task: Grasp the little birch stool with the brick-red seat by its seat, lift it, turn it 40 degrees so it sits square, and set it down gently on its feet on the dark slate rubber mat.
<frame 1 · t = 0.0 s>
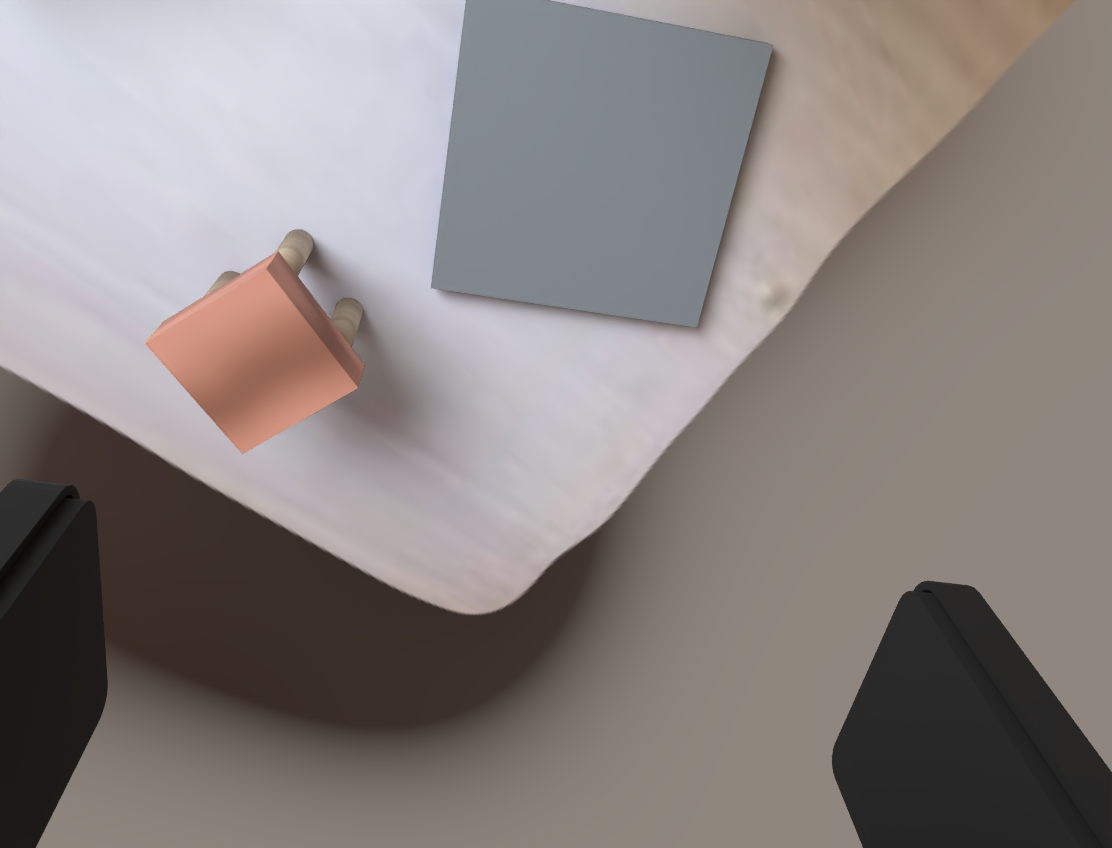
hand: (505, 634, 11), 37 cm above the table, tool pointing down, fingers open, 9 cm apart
slate mat: (591, 168, 44), on the table
stool: (291, 297, 47), on the table
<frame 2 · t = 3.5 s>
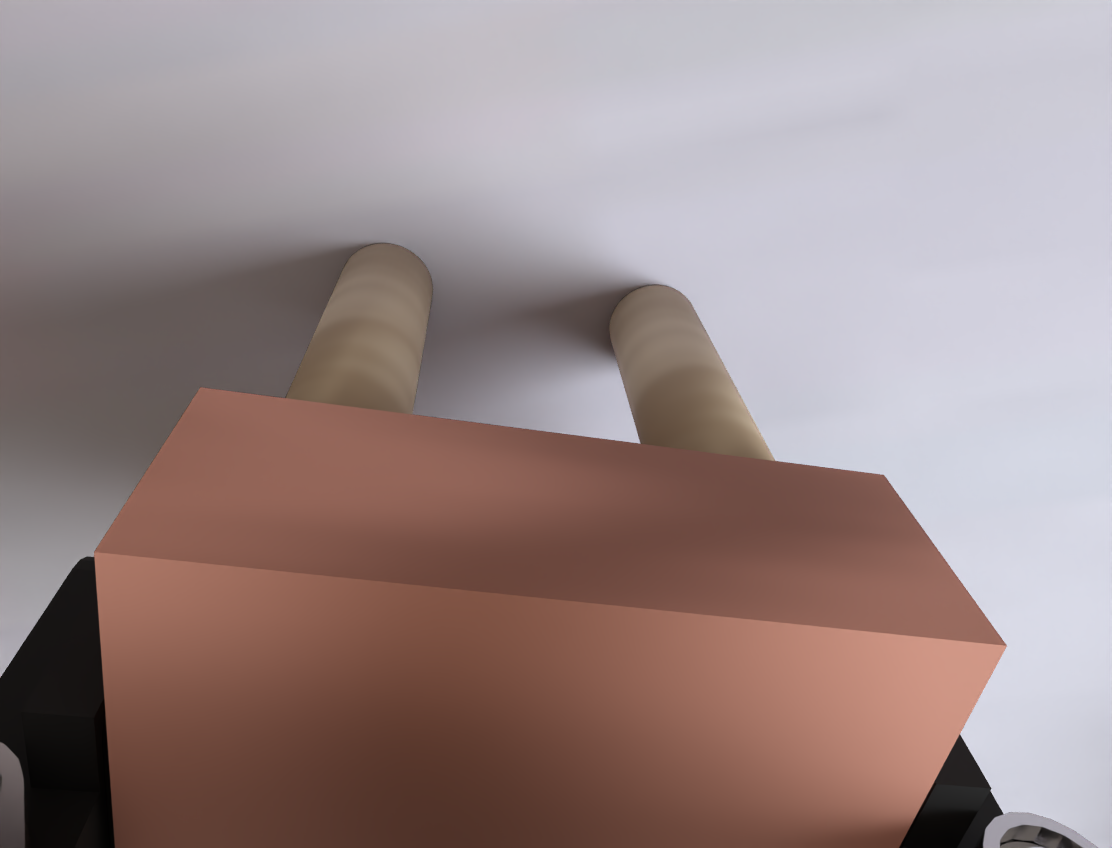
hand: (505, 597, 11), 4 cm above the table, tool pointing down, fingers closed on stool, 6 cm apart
stool: (502, 425, 15), on the table, touching gripper
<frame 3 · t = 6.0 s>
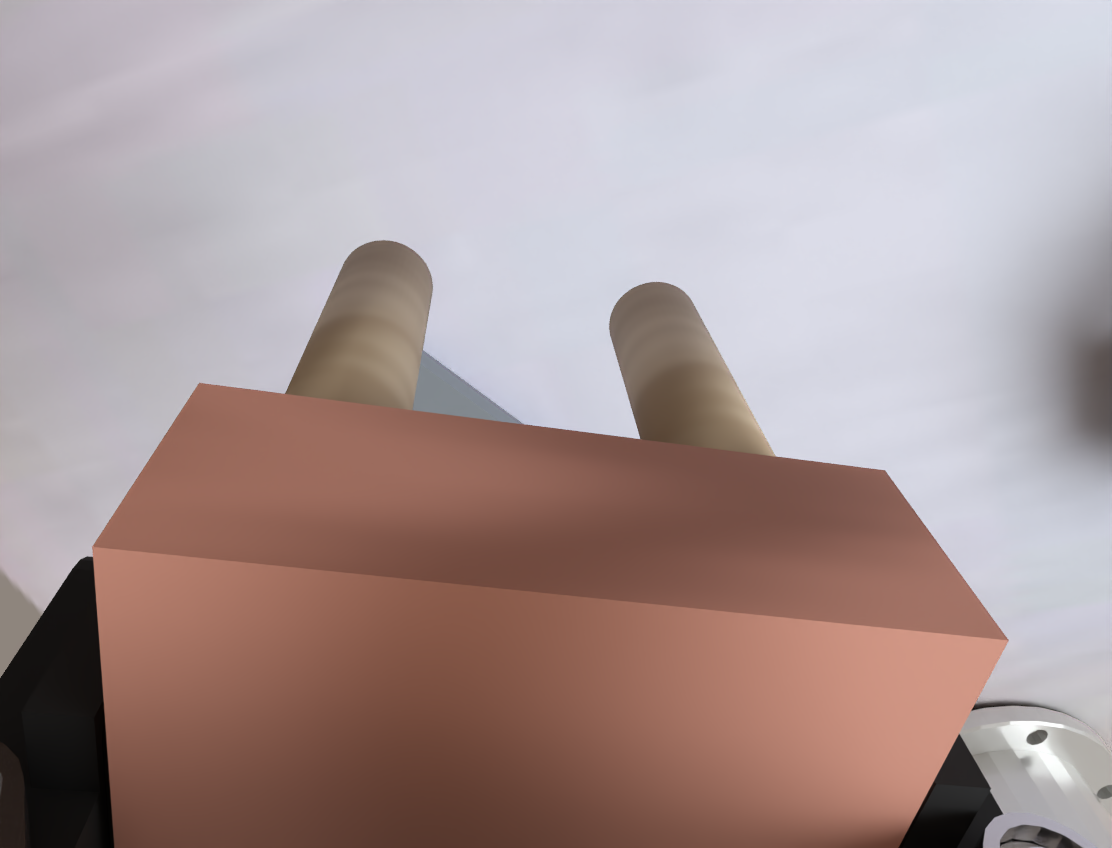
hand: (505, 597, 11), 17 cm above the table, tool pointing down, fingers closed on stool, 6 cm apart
slate mat: (440, 586, 33), on the table
stool: (502, 422, 15), point 13 cm above the table, touching gripper
when the fingers open (6 cm above the table, at t = 8.8 s): stool stays where it is, resting on slate mat.
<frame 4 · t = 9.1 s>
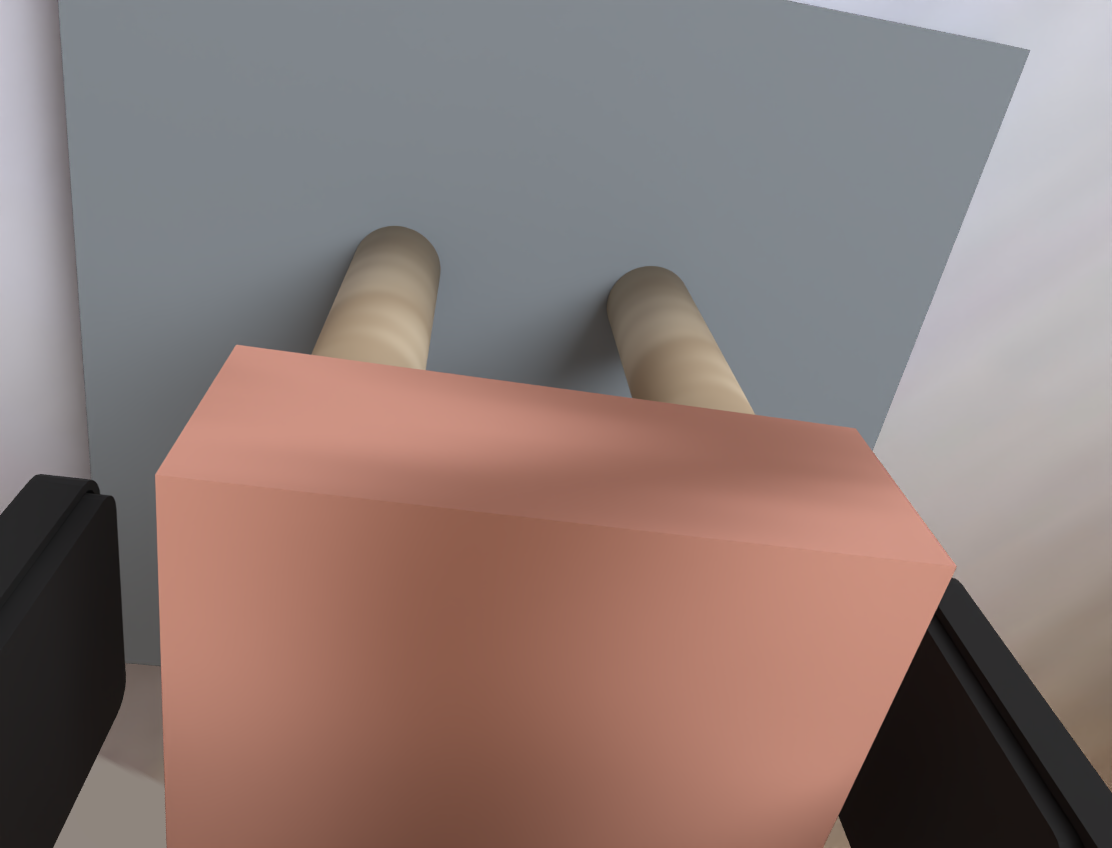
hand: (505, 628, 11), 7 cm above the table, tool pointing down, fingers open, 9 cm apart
slate mat: (501, 374, 17), on the table
stool: (505, 399, 16), point 1 cm above the table, touching slate mat
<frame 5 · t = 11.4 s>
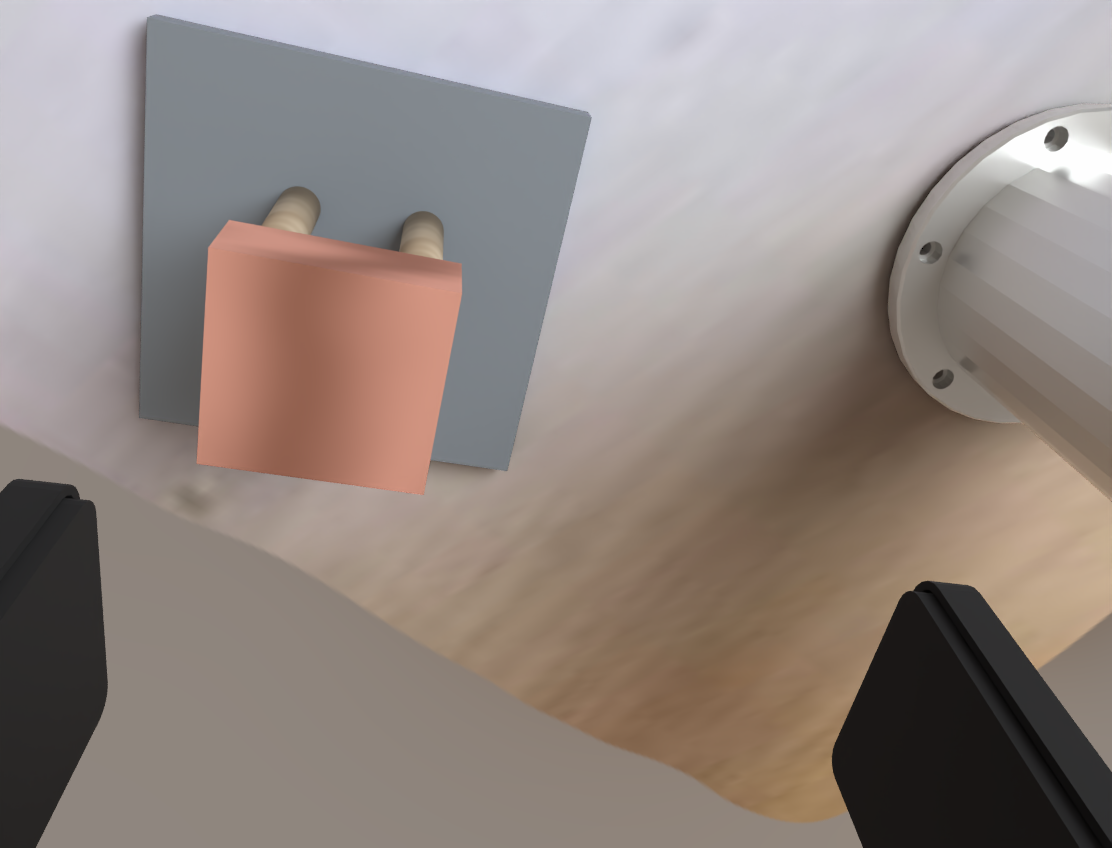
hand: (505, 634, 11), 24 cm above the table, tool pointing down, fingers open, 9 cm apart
slate mat: (355, 266, 33), on the table
stool: (354, 276, 32), point 1 cm above the table, touching slate mat
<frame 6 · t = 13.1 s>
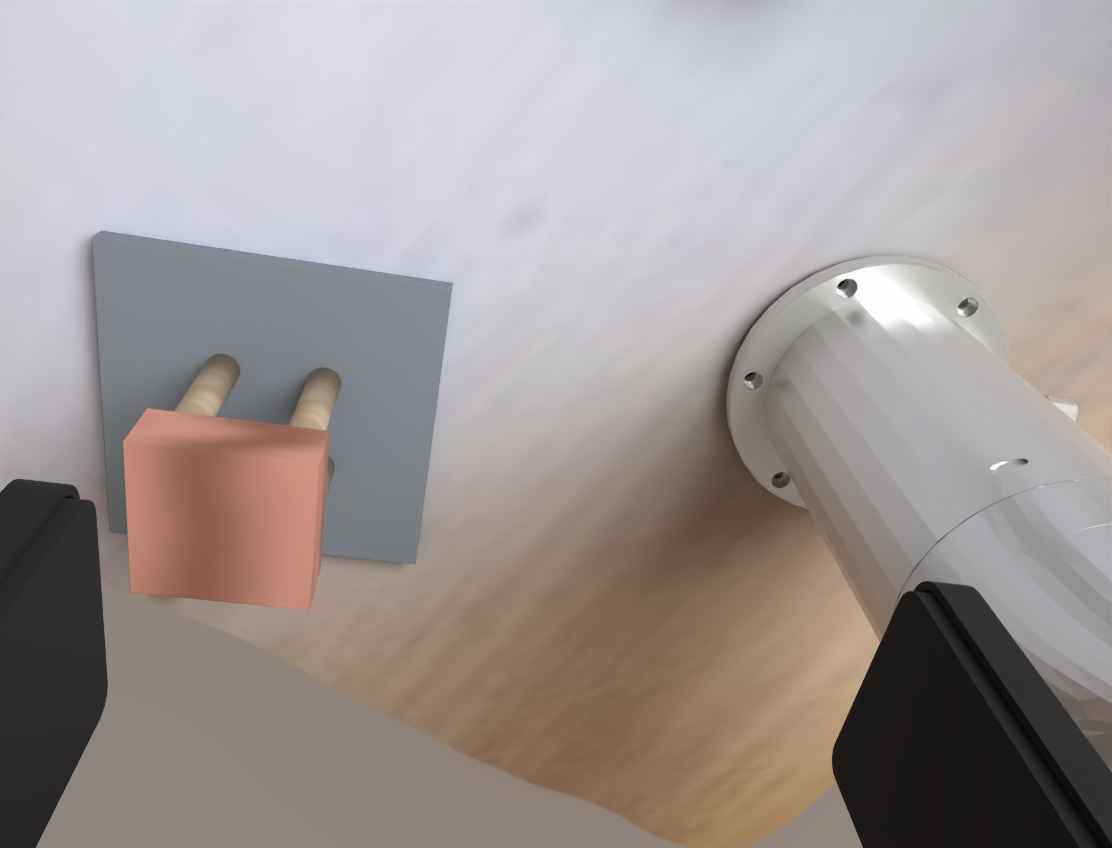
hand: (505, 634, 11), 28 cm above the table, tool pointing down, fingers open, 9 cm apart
slate mat: (275, 408, 40), on the table
stool: (272, 418, 39), point 1 cm above the table, touching slate mat
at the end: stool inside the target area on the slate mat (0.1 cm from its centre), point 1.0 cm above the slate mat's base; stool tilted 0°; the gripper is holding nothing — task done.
